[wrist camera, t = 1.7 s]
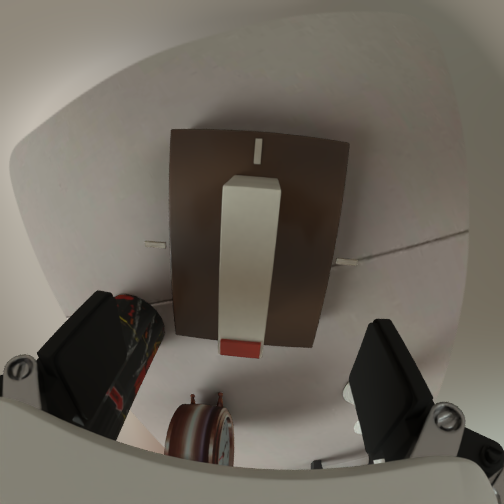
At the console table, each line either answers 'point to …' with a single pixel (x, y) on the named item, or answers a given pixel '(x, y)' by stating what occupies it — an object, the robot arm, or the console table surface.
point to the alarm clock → (201, 433)
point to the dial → (246, 263)
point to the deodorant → (128, 365)
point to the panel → (288, 231)
